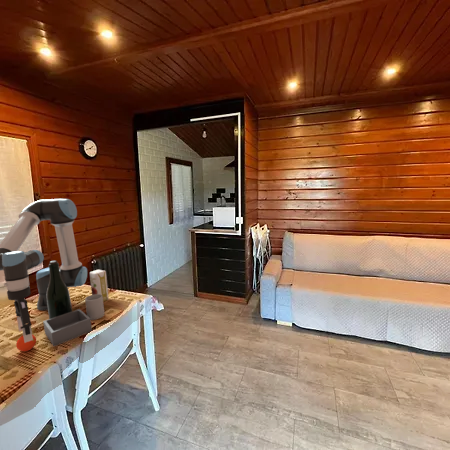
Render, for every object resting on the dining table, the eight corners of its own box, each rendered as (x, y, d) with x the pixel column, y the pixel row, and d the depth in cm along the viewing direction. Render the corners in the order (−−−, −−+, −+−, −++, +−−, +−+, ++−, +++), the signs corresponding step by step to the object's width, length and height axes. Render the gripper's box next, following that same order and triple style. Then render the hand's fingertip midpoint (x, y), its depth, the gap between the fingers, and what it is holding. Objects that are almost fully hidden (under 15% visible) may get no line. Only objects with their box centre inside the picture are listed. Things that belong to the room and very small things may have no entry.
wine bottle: (46, 327, 128) (36, 265, 123) (55, 317, 138) (46, 259, 133) (68, 324, 130) (60, 263, 125) (76, 314, 141) (68, 257, 135)
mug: (102, 318, 135) (100, 299, 133) (85, 321, 133) (82, 301, 131) (107, 308, 146) (105, 290, 145) (91, 311, 144) (88, 292, 143)
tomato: (43, 346, 112) (40, 331, 111) (27, 356, 105) (25, 340, 105) (29, 344, 114) (27, 329, 113) (13, 353, 108) (10, 338, 107)
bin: (45, 333, 122) (43, 321, 122) (81, 320, 134) (79, 308, 133) (53, 346, 111) (51, 332, 111) (91, 331, 123) (90, 318, 122)
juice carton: (102, 296, 164) (99, 268, 161) (110, 299, 159) (107, 270, 157) (91, 301, 157) (87, 272, 155) (99, 304, 153) (96, 274, 150)
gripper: (3, 284, 112) (10, 329, 114) (11, 298, 95) (19, 350, 97) (24, 279, 117) (30, 322, 120) (35, 292, 100) (42, 342, 103)
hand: (25, 335), depth 109 cm, fingers open, 13 cm apart
